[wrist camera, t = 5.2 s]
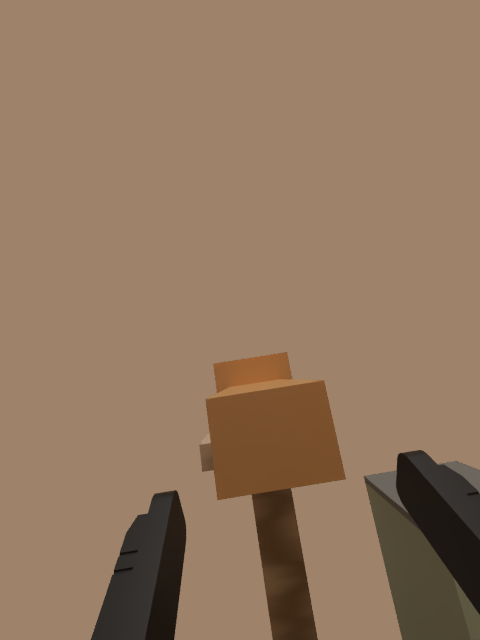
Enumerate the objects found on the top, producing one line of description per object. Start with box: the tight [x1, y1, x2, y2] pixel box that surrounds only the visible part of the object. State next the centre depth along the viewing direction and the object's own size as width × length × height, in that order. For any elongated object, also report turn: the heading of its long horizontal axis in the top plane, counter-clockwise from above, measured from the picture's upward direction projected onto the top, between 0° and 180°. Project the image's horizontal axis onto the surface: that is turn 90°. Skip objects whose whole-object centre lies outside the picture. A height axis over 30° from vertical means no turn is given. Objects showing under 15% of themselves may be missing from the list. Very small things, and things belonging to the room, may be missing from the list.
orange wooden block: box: [206, 352, 346, 500], centre depth 16 cm, size 6×16×5 cm, turn 179°
